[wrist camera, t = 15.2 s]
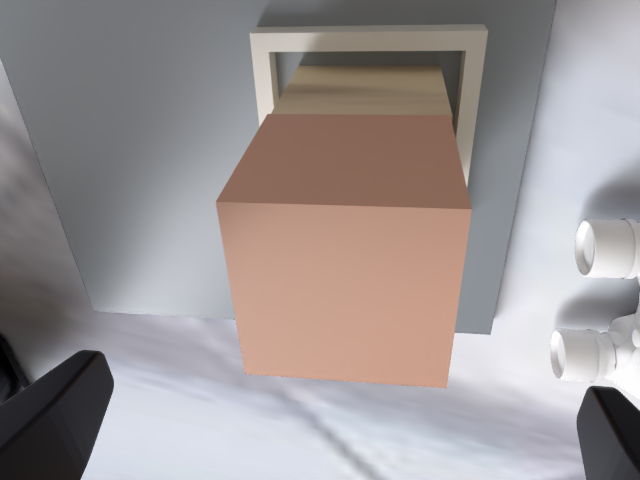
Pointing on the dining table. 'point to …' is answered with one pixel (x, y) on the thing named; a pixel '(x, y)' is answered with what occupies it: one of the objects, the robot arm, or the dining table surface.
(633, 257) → the binoculars
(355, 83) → the maple block
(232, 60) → the building board
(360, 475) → the dining table surface
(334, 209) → the terracotta block
